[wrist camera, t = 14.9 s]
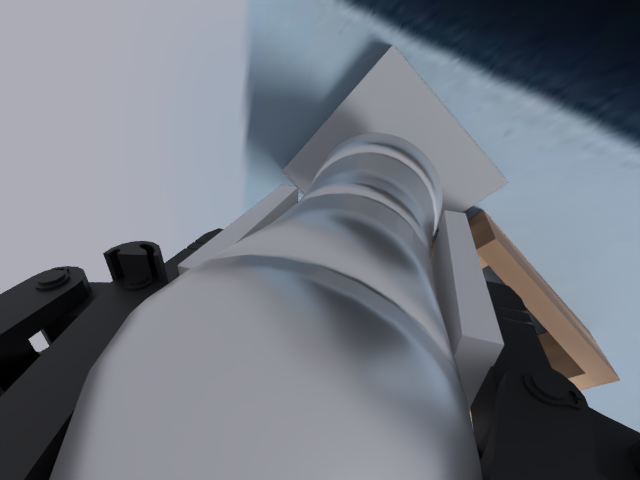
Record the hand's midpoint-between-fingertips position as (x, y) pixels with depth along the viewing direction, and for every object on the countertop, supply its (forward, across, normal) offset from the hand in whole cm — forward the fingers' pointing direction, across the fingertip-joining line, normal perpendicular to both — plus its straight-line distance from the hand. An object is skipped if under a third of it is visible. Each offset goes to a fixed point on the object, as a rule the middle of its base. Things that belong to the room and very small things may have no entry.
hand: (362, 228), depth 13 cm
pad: (+9, 0, 0) cm, 9 cm away
